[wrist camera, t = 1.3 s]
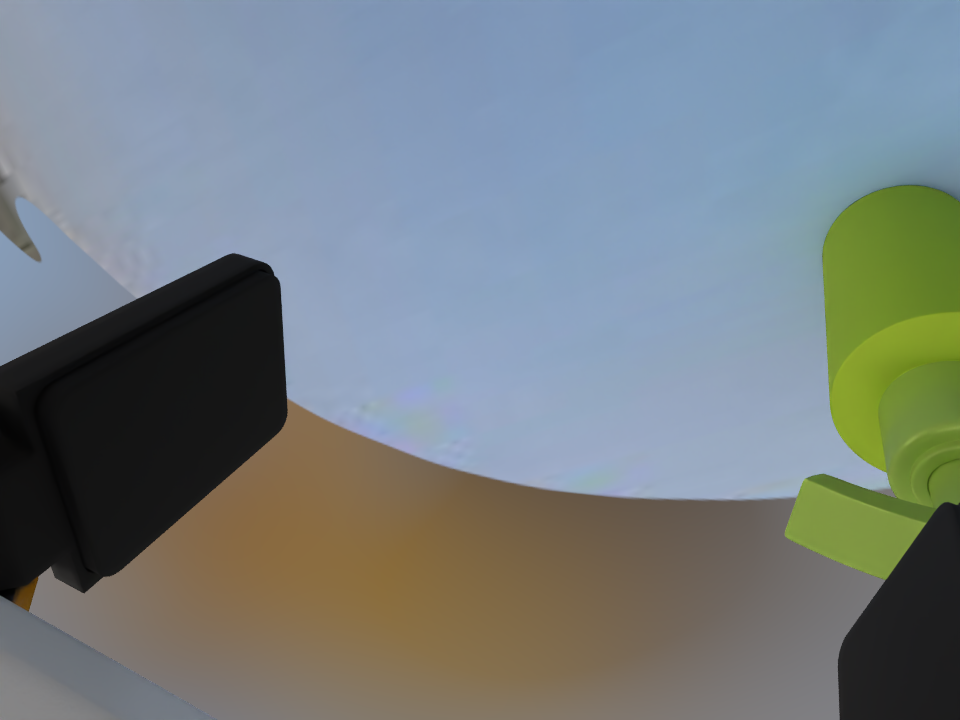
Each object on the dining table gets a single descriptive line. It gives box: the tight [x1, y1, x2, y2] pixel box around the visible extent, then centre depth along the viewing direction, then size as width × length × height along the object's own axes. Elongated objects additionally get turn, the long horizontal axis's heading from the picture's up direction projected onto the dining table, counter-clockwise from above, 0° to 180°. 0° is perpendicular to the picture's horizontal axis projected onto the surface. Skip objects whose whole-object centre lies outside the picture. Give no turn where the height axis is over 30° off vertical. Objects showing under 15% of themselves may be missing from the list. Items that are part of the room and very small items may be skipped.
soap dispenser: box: [785, 185, 960, 580], centre depth 22 cm, size 6×7×20 cm
